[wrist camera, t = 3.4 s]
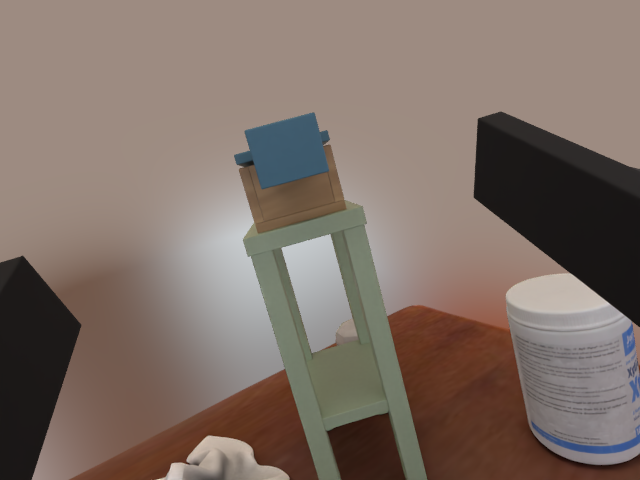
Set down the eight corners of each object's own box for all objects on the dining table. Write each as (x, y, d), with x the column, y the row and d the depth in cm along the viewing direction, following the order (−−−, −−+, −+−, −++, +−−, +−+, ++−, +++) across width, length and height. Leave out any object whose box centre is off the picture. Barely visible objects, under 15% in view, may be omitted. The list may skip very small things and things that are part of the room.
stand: (431, 486, 36) (362, 205, 31) (328, 518, 36) (242, 239, 31) (390, 401, 50) (338, 197, 45) (315, 424, 49) (255, 220, 45)
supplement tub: (676, 465, 32) (658, 300, 29) (553, 476, 34) (525, 322, 31) (609, 394, 41) (590, 264, 39) (515, 406, 43) (491, 283, 41)
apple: (343, 378, 58) (332, 338, 57) (340, 353, 66) (330, 318, 65) (395, 365, 58) (385, 324, 57) (386, 342, 66) (377, 306, 64)
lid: (367, 161, 20) (353, 101, 19) (222, 200, 19) (204, 140, 19) (321, 170, 44) (314, 144, 43) (256, 188, 43) (248, 162, 43)
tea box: (346, 209, 32) (330, 144, 31) (257, 233, 32) (238, 168, 31) (329, 200, 44) (317, 154, 43) (264, 218, 44) (251, 171, 43)
